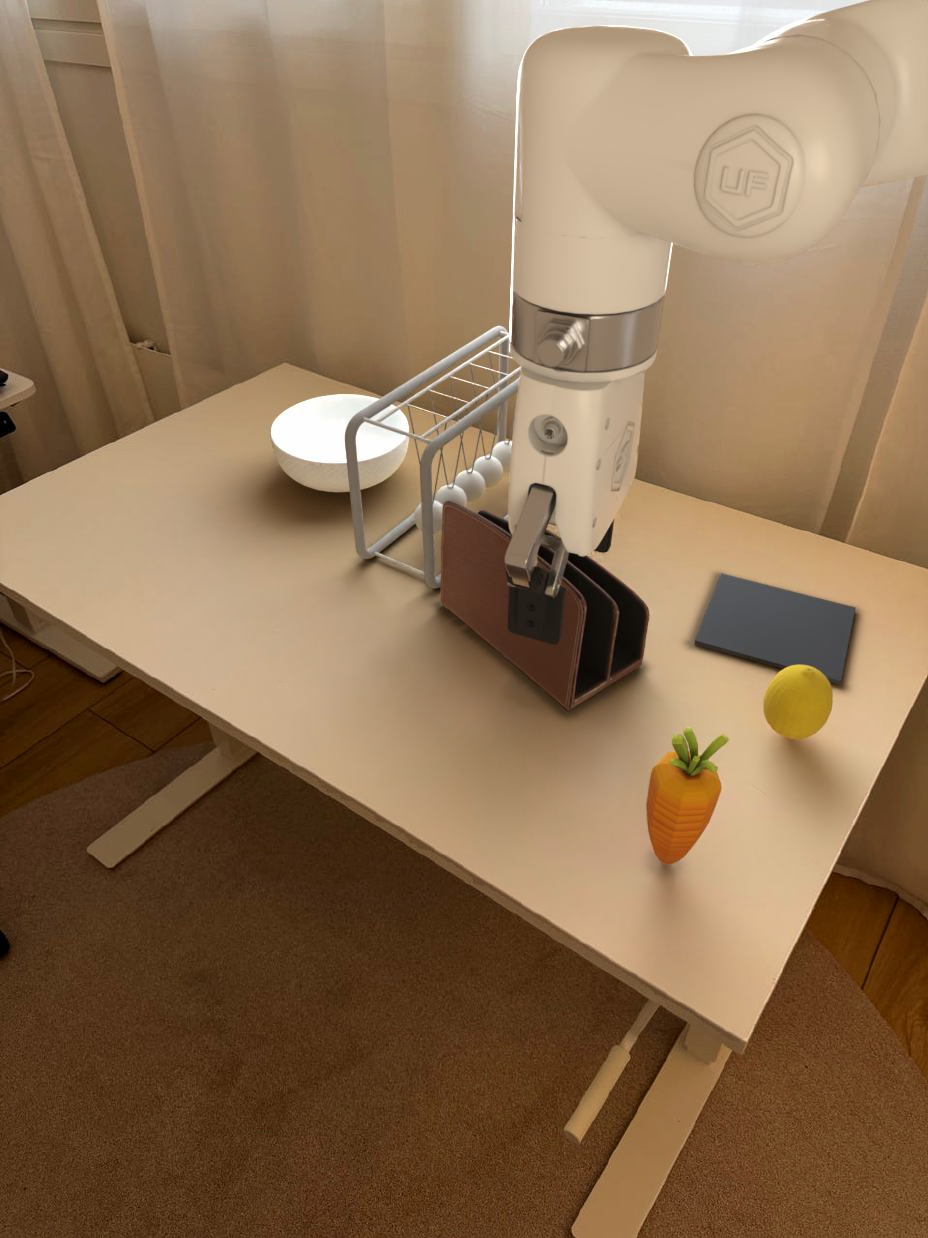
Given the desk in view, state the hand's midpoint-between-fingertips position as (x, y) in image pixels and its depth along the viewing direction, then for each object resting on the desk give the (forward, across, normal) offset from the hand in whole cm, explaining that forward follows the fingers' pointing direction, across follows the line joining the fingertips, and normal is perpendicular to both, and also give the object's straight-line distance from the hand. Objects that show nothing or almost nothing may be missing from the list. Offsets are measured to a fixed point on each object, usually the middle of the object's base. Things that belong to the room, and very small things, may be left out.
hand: (561, 588), depth 56 cm
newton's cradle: (+25, +39, +23) cm, 52 cm away
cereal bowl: (+25, +41, +42) cm, 64 cm away
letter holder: (+25, +22, +9) cm, 35 cm away
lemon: (+26, +19, -17) cm, 36 cm away
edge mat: (+25, +33, -13) cm, 44 cm away
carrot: (+25, +1, -10) cm, 27 cm away
